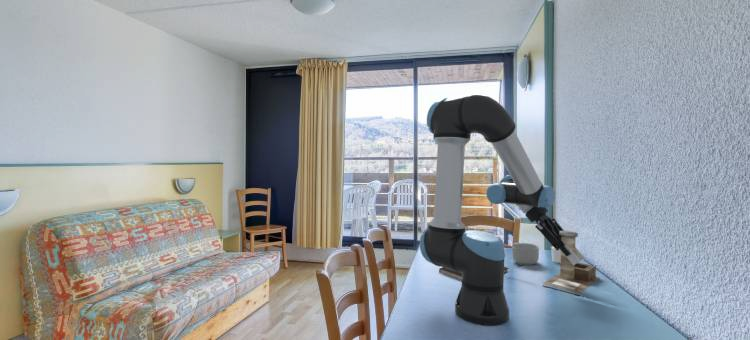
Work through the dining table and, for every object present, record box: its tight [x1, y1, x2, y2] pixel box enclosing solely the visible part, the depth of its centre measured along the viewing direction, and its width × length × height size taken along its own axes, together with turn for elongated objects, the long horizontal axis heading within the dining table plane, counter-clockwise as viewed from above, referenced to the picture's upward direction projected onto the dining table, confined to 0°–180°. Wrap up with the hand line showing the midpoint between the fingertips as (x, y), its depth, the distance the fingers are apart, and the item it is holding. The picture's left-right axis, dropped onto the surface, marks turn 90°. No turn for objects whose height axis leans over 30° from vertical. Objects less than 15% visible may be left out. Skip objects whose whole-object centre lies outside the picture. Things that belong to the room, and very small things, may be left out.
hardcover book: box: [438, 266, 510, 281], centre depth 141 cm, size 16×23×2 cm
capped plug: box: [559, 230, 579, 279], centre depth 126 cm, size 6×6×16 cm
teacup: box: [511, 242, 540, 267], centre depth 154 cm, size 14×11×8 cm
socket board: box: [542, 262, 601, 297], centre depth 130 cm, size 23×12×5 cm, turn 133°
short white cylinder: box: [550, 245, 561, 264], centre depth 154 cm, size 7×7×7 cm
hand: (579, 261), depth 123 cm, fingers closed on capped plug, 4 cm apart
